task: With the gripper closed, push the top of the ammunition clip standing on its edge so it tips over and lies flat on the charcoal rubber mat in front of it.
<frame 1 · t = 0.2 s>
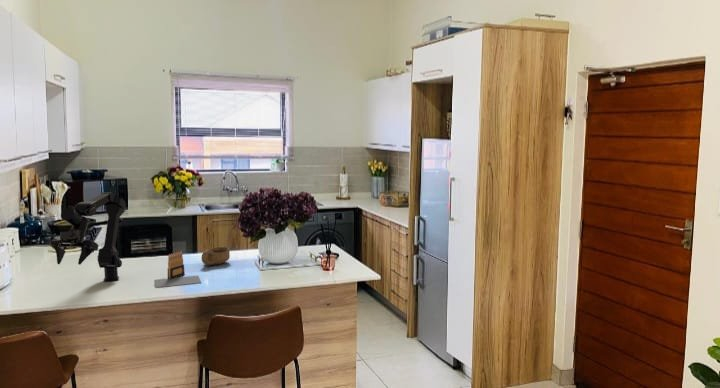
hand: (68, 264, 231), 15 cm above the worktop, fingers open, 9 cm apart
bowl: (215, 264, 293), on the worktop
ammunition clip: (176, 277, 267), on the worktop, touching rubber mat
rubber mat: (177, 281, 259), on the worktop
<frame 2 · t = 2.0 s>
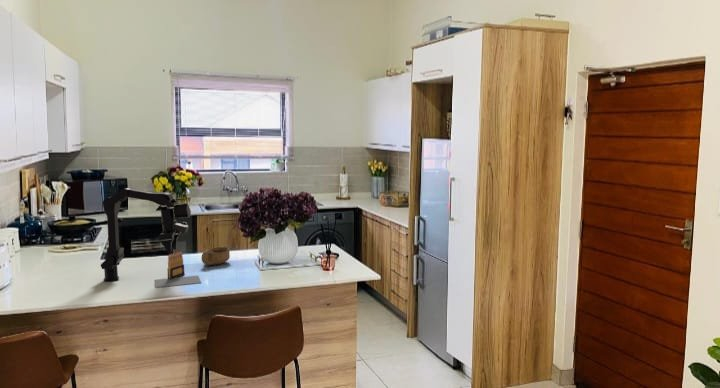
hand: (172, 251, 263), 13 cm above the worktop, fingers open, 9 cm apart
nothing on the worktop moved.
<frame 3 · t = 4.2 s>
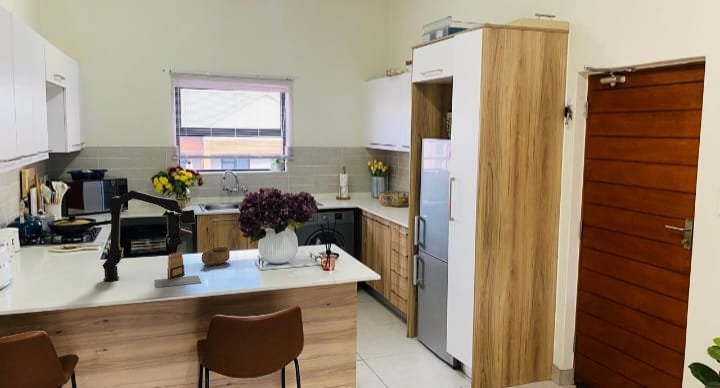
hand: (174, 255, 271), 10 cm above the worktop, fingers closed
nothing on the worktop moved.
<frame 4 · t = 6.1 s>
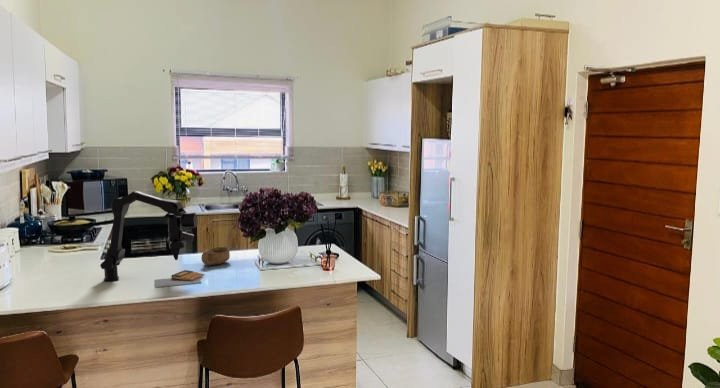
hand: (176, 259, 261), 10 cm above the worktop, fingers closed
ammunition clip: (177, 274, 266), point 1 cm above the worktop, touching rubber mat
everything else where it was.
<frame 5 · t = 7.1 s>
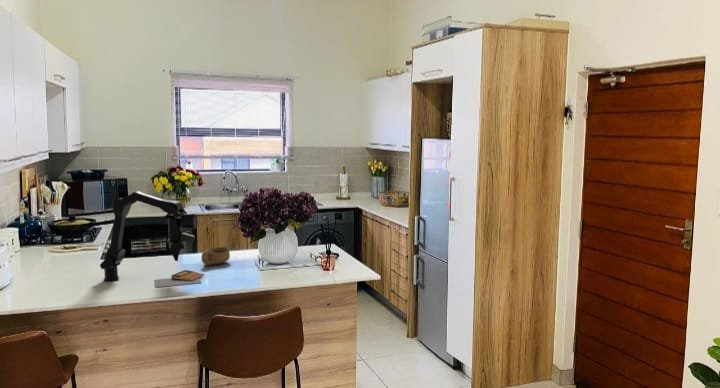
hand: (176, 260, 259), 10 cm above the worktop, fingers closed
nothing on the worktop moved.
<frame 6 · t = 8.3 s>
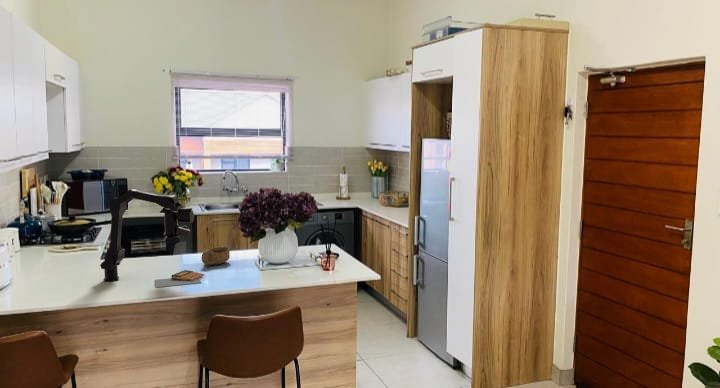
hand: (172, 254, 261), 12 cm above the worktop, fingers closed
nothing on the worktop moved.
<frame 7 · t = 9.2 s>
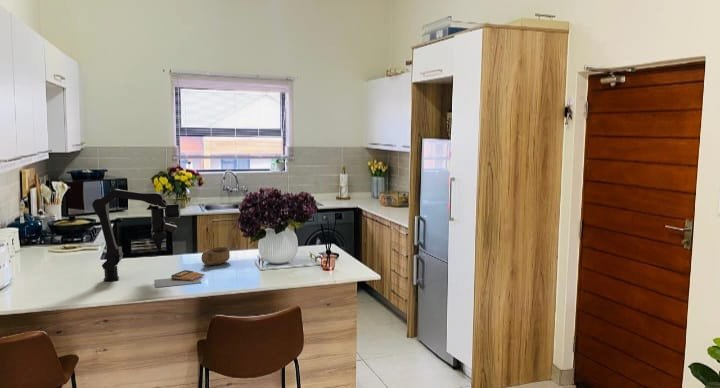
hand: (159, 250, 267), 13 cm above the worktop, fingers closed
nothing on the worktop moved.
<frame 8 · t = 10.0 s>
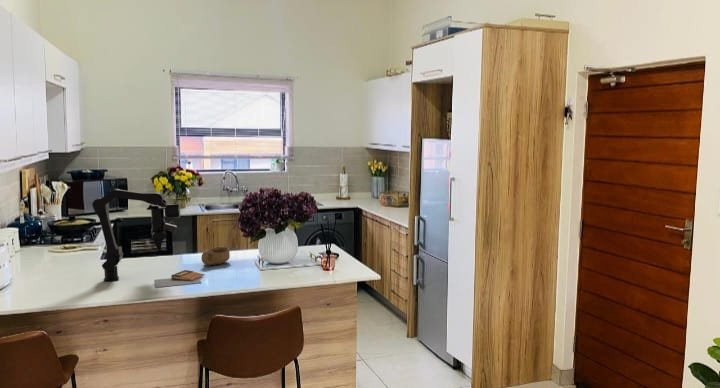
hand: (159, 250, 267), 13 cm above the worktop, fingers closed
nothing on the worktop moved.
at the end: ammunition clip tilted 93°; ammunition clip touching rubber mat; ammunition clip inside the target area (4.9 cm from its centre), point 1.5 cm above the worktop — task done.
